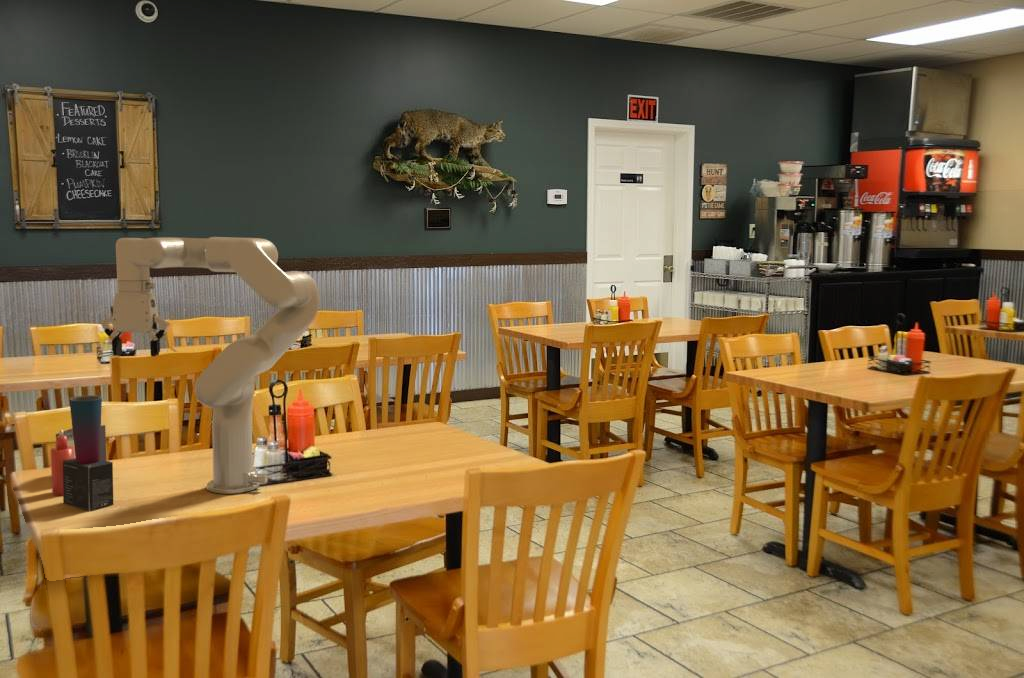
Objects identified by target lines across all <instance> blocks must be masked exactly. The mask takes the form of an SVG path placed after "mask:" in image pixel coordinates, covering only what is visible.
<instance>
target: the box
mask: <svg viewBox="0 0 1024 678" xmlns="http://www.w3.org/2000/svg"><path fill="white" fill-rule="evenodd" d="M113 465H114V464H113V462H112V461H109V460H107V461H105V460H101V459H100V461H98V462H95V463H90V464H79V463H76V458H74V459H69V460H64V461H63V496H62V497H63V499H62V501H63V504H64V505H68V506H71V507H74V508H77V509H81V510H85V511H89V512H91V511H95V510H98V509H102V508H106V507H110V506H114V471H113V469H114V468H113Z"/></svg>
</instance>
